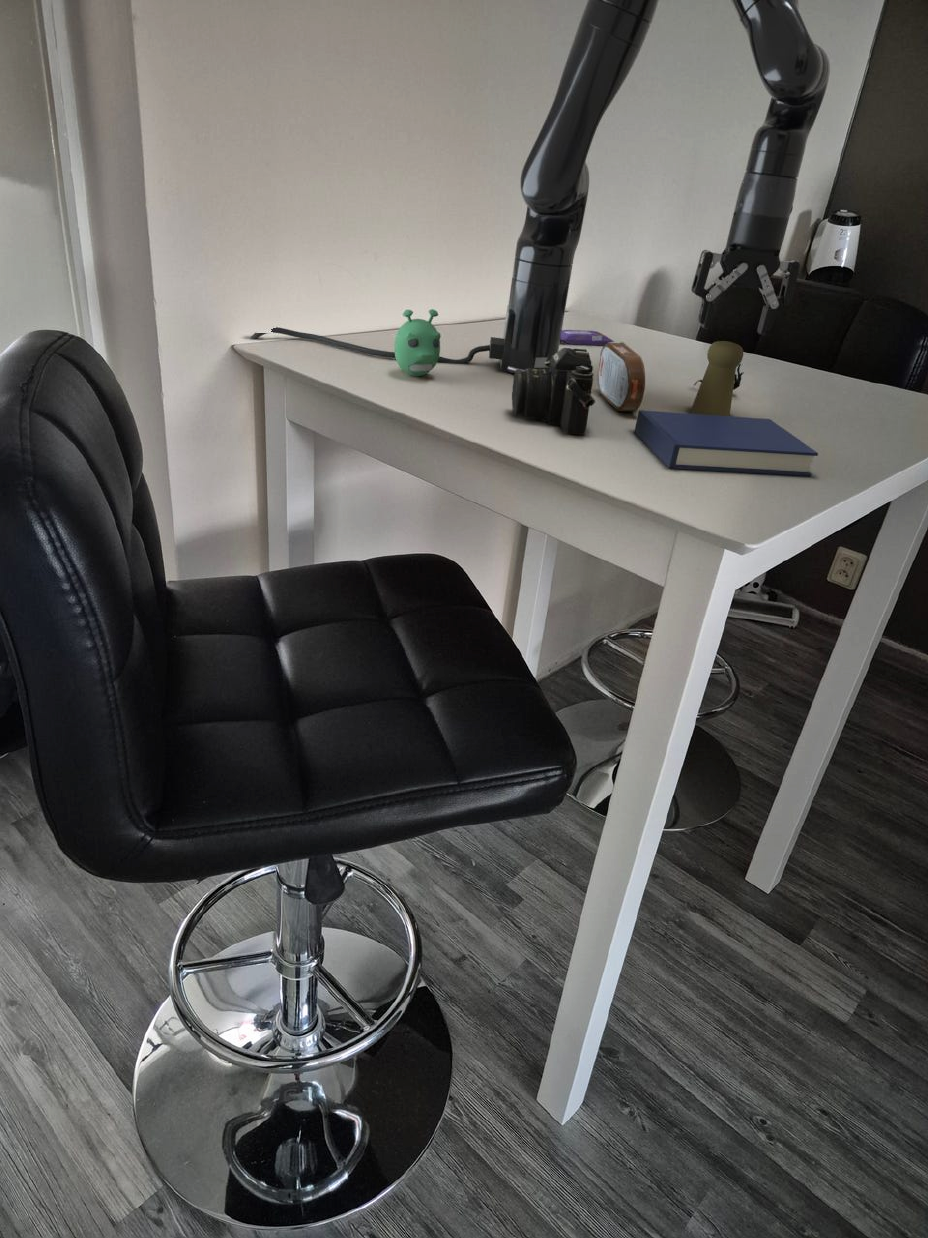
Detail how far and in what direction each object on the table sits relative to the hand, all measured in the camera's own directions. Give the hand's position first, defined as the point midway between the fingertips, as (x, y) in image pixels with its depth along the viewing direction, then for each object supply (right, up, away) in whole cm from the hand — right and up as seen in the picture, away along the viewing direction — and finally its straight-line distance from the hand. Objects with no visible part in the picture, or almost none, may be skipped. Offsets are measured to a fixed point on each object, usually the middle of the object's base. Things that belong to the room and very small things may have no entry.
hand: (732, 330), depth 130 cm
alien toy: (-47, -5, +6) cm, 48 cm away
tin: (-17, -10, +6) cm, 20 cm away
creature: (+3, -5, +19) cm, 19 cm away
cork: (-2, -11, +6) cm, 13 cm away
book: (-5, -20, -10) cm, 23 cm away
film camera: (-28, -14, -5) cm, 32 cm away
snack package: (-17, +11, +41) cm, 46 cm away
